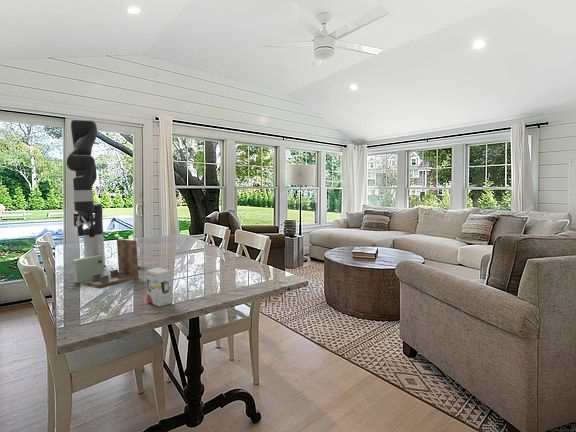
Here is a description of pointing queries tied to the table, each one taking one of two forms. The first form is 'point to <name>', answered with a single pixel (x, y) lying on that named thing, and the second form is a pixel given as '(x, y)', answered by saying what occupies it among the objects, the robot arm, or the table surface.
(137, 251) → the lightbulb
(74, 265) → the door
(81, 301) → the table surface
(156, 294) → the ink box
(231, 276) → the table surface
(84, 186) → the robot arm
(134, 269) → the wooden l-shaped stand
